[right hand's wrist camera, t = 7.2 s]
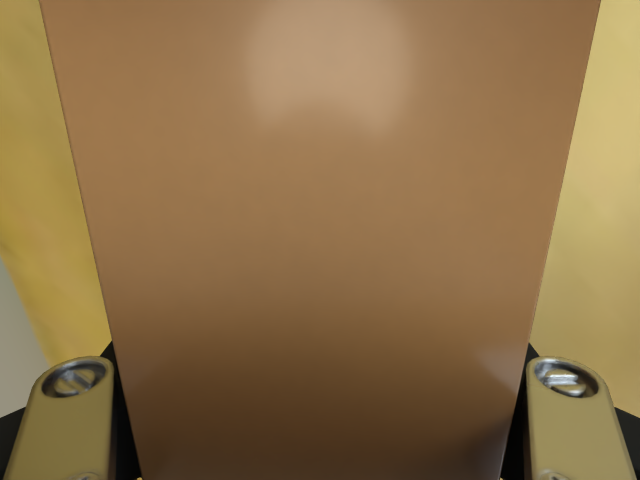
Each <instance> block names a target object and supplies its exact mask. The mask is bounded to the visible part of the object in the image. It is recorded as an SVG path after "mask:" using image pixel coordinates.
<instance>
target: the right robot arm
mask: <svg viewBox="0 0 640 480" xmlns="http://www.w3.org/2000/svg"><path fill="white" fill-rule="evenodd" d="M137 478H142V476H141V471H140V467H139V462H138V457H137V453H136V448H135V444H134V439H133V434H132V430H131V425H130V420H129V416H128V411H127V407H126V402H125V397H124V393H123V388H122V383H121V379H120V374H119V369H118V365H117V360H116V356H115V351H114V346H113V342H112V341H111V342H110V344H109V345H108V346H107V348H106V349H105V350H104V351H103V353H102V354H101V355H100V357H99V356H85V357H78V358H74V359H71V360H67V361H65V362H62V363H60V364H58V365H55V366H54V367H52V368H50V369H49V370H47V371H46V372H44V373H43V374H42V375H41V376H40V377H39V378H38V379H37V380H36V382H35V383H34V385H33V387H32V390H31V393H30V396H29V399H28V402H27V405H26V407H24V408H22V409H19V410H17V411H15V412H13V413H10V414H8V415H6V416H4V417H1V418H0V480H137ZM500 478H502V479H503V480H640V418H638V417H636V416H634V415H631V414H629V413H627V412H625V411H622V410H620V409H618V408H616V407H614V405H613V402H612V399H611V396H610V393H609V390H608V387H607V385H606V383H605V382H604V380H603V379H602V378H601V377H600V376H599V375H598V374H597V373H596V372H594V371H593V370H591V369H590V368H588V367H586V366H585V365H582V364H580V363H578V362H575V361H573V360H569V359H566V358H562V357H555V356H541V357H540V356H539V355H538V353H537V352H536V351H535V350H534V348H533V347H532V346H531V344H530V343H528V348H527V353H526V357H525V362H524V367H523V372H522V376H521V381H520V386H519V390H518V395H517V400H516V405H515V409H514V414H513V419H512V424H511V428H510V433H509V438H508V443H507V447H506V452H505V457H504V461H503V466H502V471H501V476H500Z"/></svg>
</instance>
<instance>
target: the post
mask: <svg viewBox="0 0 640 480" xmlns="http://www.w3.org/2000/svg"><path fill="white" fill-rule="evenodd" d="M600 2H601V0H39V3H40V8H41V13H42V17H43V22H44V27H45V31H46V36H47V41H48V45H49V50H50V54H51V59H52V64H53V68H54V73H55V78H56V82H57V87H58V91H59V96H60V101H61V105H62V110H63V115H64V119H65V124H66V129H67V133H68V138H69V142H70V147H71V152H72V156H73V161H74V166H75V170H76V175H77V180H78V184H79V189H80V193H81V198H82V203H83V207H84V212H85V217H86V221H87V226H88V230H89V235H90V240H91V244H92V249H93V254H94V258H95V263H96V268H97V272H98V277H99V281H100V286H101V291H102V295H103V300H104V305H105V309H106V314H107V318H108V323H109V328H110V332H111V337H112V342H113V346H114V351H115V356H116V360H117V365H118V369H119V374H120V379H121V383H122V388H123V393H124V397H125V402H126V407H127V411H128V416H129V420H130V425H131V430H132V434H133V439H134V444H135V448H136V453H137V457H138V462H139V467H140V471H141V476H142V480H500V476H501V471H502V466H503V461H504V457H505V452H506V447H507V443H508V438H509V433H510V428H511V424H512V419H513V414H514V409H515V405H516V400H517V395H518V390H519V386H520V381H521V376H522V372H523V367H524V362H525V357H526V353H527V348H528V343H529V338H530V334H531V329H532V324H533V319H534V315H535V310H536V305H537V301H538V296H539V291H540V286H541V282H542V277H543V272H544V267H545V263H546V258H547V253H548V248H549V244H550V239H551V234H552V230H553V225H554V220H555V215H556V211H557V206H558V201H559V196H560V192H561V187H562V182H563V177H564V173H565V168H566V163H567V159H568V154H569V149H570V144H571V140H572V135H573V130H574V125H575V121H576V116H577V111H578V106H579V102H580V97H581V92H582V88H583V83H584V78H585V73H586V69H587V64H588V59H589V54H590V50H591V45H592V40H593V35H594V31H595V26H596V21H597V17H598V12H599V7H600Z"/></svg>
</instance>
